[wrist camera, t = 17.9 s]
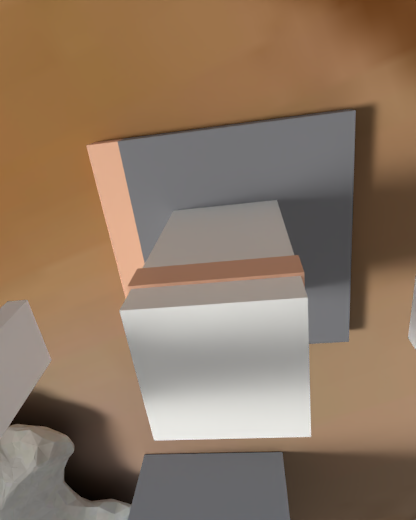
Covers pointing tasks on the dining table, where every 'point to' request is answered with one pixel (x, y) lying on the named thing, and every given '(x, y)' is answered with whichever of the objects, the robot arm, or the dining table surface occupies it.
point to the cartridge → (222, 327)
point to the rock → (44, 479)
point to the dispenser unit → (211, 487)
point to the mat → (243, 195)
